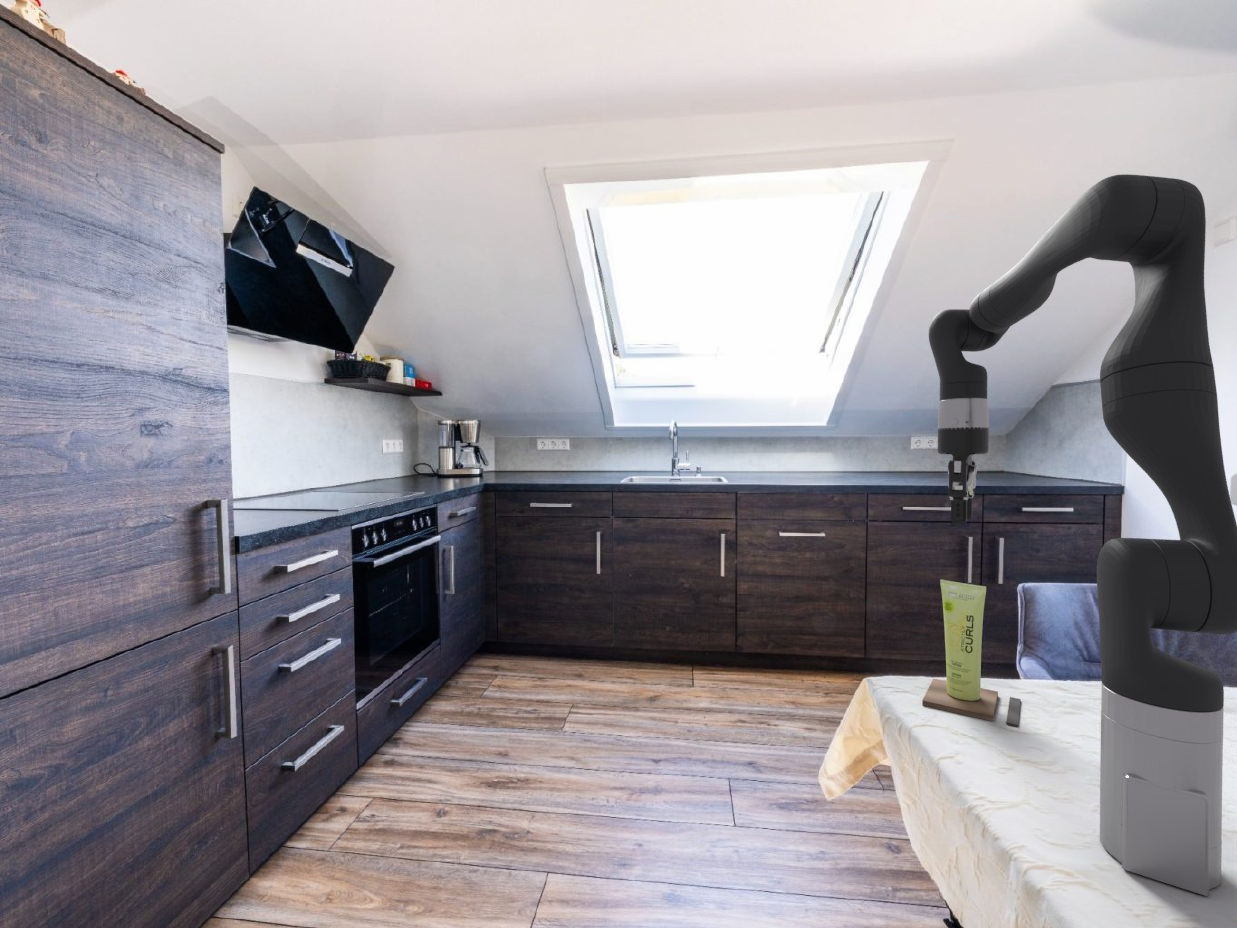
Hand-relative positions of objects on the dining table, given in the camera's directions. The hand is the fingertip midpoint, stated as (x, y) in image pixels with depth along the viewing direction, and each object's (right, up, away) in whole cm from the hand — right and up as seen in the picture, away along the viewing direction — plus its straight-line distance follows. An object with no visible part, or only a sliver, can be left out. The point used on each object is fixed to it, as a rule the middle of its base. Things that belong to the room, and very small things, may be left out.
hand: (961, 521), depth 99 cm
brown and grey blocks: (+1, -31, -1) cm, 31 cm away
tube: (0, -30, 0) cm, 30 cm away
